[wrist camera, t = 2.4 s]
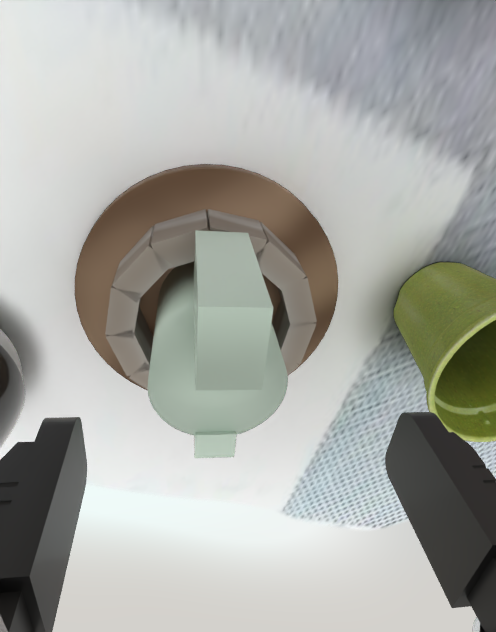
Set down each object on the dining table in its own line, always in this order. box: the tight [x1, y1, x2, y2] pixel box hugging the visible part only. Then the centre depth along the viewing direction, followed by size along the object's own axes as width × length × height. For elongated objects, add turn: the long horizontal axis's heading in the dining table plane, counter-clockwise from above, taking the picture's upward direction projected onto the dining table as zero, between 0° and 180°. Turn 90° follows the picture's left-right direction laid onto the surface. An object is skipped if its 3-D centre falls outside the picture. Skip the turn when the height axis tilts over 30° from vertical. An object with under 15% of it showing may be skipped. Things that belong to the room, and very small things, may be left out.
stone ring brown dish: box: [75, 164, 338, 390], centre depth 26 cm, size 16×16×4 cm
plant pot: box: [394, 262, 496, 442], centre depth 26 cm, size 9×9×9 cm
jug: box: [148, 230, 288, 458], centre depth 21 cm, size 11×6×12 cm, turn 175°
